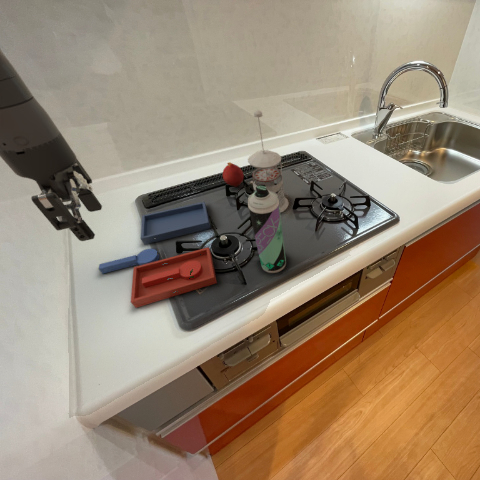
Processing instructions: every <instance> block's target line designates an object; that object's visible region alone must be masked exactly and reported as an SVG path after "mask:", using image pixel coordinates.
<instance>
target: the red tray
mask: <svg viewBox="0 0 480 480" xmlns="http://www.w3.org/2000/svg"><path fill="white" fill-rule="evenodd" d="M200 254H201V255H200ZM188 261H198V262H199V263H200V264H201V266H202V273H201V274H200V275H199V276H198V277H197V278H195V279H192V280H185V279H183V278H182V277H181V278H178V279H174V280H171V281H168V282H164V283H161V284H157V285H154V286H151V287H147V288H145V287H144V286H143V284H142V278H144V277H148V276H151V275H155V274H158V273H162V272H165V271H169V270H172V269H176V268H180V267H181V266H182V265H183V264H184V263H186V262H188ZM164 263H168V264H164ZM162 264H164V265H162ZM217 283H218V282H217V277H216V270H215V266H214V261H213V256H212V252H211V249H210V247H204V248H201V249H196V250H193V251H190V252H186V253H182V254H178V255H174V256H171V257H166V258H163V259H159V260H158V261H155V262H151V263H148V264H144V265H135V266H133V270H132V283H131V292H130V293H131V295H130V303H131V304H132V306H133V307H134V308H136V309H137V308H140V307H143V306H146V305H150V304H153V303H156V302H159V301H162V300H166V299H169V298H173V297H176V296H179V295H182V294H185V293H189V292H192V291H196V290H199V289H202V288H205V287H209V286H211V285H215V284H217ZM175 291H176V292H175ZM177 291H178V292H177ZM173 292H175V293H173Z"/></svg>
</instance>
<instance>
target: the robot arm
mask: <svg viewBox="0 0 480 480" xmlns="http://www.w3.org/2000/svg"><path fill="white" fill-rule="evenodd" d="M0 158H1V159H2V161H4V163H5V164H6V165H7V166H8V167H9V168H10V169H11V171H12V172H13V173H14V174H15V175H17V176H18V177H20V178H24V179H29V180H32V181H34V182H36V184H37V186H38V188H39V190H40V191H41V192H40V194H36V195H31V198H30V199H31V201H32V202H33V204H34V205H35V206H36V207H37V209H38V210H39V211H40V212H41V213H42V215H43V216H44V217H45V218H46V219H47V221H48V222H49V223H50V224H51V225H52V226H53V228H54V229H55V230H56V231H62V230H68V229H69V230H70V231H71V233H72V235H74V236H75V237H76V239H78V241H80V242H86V241H91V240H94V239H95V235H96V234H95V233H94V231H93V230H92V228H91V227H90V226H89V225H88V224H87V222H86V220H85V219H83V217H82V214H81V212H80V208H81V207H82V205H83V206H84V208H86V210H87V211H88V212H91V213H92V212H98V211H101V210H102V209H103V205H102V204H101V202H100V201H99V200H98V198H97V197H96V195H95V193H94V192H93V187H92V186H91V185H90V184H93V179H92V178H91V176H90V175H89V174H88V172H87V170H86V169H85V168H84V166H83V165H82V164H81V162H80V161H79V159H78V158H77V156H76V154H75V152H74V151H73V149H72V148H71V146H70V145H69V143H68V142H67V140H66V139H65V137H64V136H63V134H62V133H61V131H60V129H58V126H57V125H56V124H55V123H54V121H53V119H52V118H51V116H50V115H49V113H48V112H47V111H46V110H45V108H44V107H43V106H42V105H41V103H40V102H39V101H38V100H37V99H36V97H35V96H34V95H33V93H32V92H31V90H30V89H29V87H28V86H27V84H26V82H25V81H24V80H23V78H22V77H21V76H20V74H19V73H18V71H17V69H16V68H15V66H14V65H13V64H12V63H11V62H10V60H9V59H8V58H7V56H6V55H5V54H4V51H2V49H1V48H0ZM68 202H70V203H68ZM65 203H68V204H65ZM81 203H82V204H81ZM70 211H71V212H70Z"/></svg>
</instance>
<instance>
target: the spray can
mask: <svg viewBox="0 0 480 480" xmlns="http://www.w3.org/2000/svg"><path fill="white" fill-rule="evenodd" d="M254 191H255V190H254ZM254 191H253V192H252V193H251V194H250V195H249V196H248V198H247V207H248V210H249V216H250V221H251V226H252V229H253V230H252V231H253V235H254V237H255V238H254V239H255V243H256V247H257V248H256V249H257V252H258V253H257V254H258V256H259V261H260V266H261V268H262V270H263V271H264V272H266V273H268V274H276V273H279V272H281V271H282V270H284V269H285V268H286V265H287V258H286V250H285V242H284V241H285V240H284V233H283V225H282V224H283V223H282V216H281V213H280V207H279V200H278V197H277V195H276V194H275V193H274V192H272V191H269V190H267V189H266V185H258V186H257V187H256V191H255V192H254Z"/></svg>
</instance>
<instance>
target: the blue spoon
mask: <svg viewBox="0 0 480 480" xmlns="http://www.w3.org/2000/svg"><path fill="white" fill-rule="evenodd" d="M157 252H158V251H157V249H156V248H146V249H143V250H141V251H140V252H139V253H137V254H135V255H129V256H125V257H122V258H117V259H114V260H110V261H106V262H102V263H99V264H98V270H99V271H100V273H101V274H102V275H103V274H104V275H105V274H108V273H111V272H114V271H118V270H122V269H126V268H130V267H135V266H140V265H144V264H148V263H151V262H155V261H159V260H160V254H159V253H158V255H157Z"/></svg>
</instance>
